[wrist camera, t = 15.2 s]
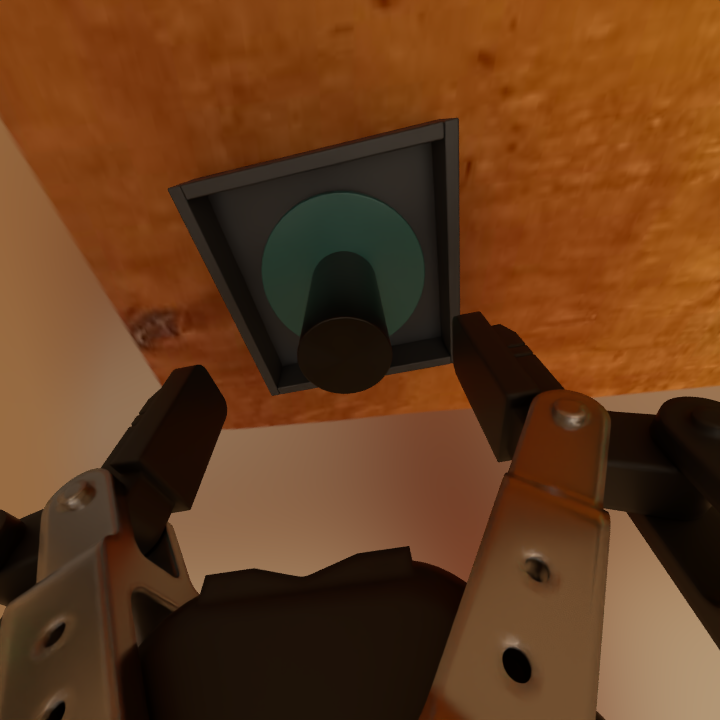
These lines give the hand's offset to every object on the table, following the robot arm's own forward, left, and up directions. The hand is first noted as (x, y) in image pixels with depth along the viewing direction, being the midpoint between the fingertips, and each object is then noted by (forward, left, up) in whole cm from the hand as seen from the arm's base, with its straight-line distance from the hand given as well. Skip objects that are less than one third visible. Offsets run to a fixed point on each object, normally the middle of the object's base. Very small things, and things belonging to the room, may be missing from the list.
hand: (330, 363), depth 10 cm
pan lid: (+1, 0, -6) cm, 6 cm away
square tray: (0, 0, -7) cm, 7 cm away
